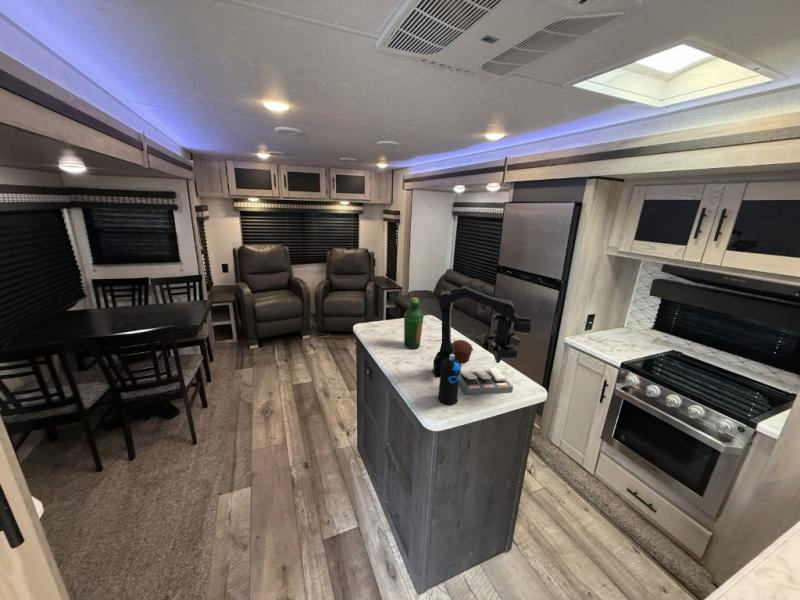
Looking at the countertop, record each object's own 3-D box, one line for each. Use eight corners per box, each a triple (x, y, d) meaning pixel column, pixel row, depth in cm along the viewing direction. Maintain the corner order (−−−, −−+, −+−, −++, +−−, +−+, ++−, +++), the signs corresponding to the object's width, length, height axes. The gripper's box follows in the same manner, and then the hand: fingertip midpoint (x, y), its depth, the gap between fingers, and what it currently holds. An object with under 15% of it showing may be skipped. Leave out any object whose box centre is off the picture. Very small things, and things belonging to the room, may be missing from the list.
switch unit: (466, 395, 130) (467, 389, 129) (454, 377, 143) (455, 372, 142) (512, 391, 134) (513, 386, 133) (497, 375, 147) (497, 370, 146)
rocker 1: (468, 380, 133) (468, 376, 133) (461, 375, 141) (461, 372, 141) (477, 379, 133) (477, 376, 133) (469, 375, 141) (469, 371, 141)
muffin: (444, 358, 161) (446, 340, 158) (456, 352, 168) (458, 335, 165) (463, 367, 153) (466, 348, 150) (475, 360, 160) (478, 342, 158)
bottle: (424, 349, 170) (428, 300, 162) (406, 351, 166) (409, 301, 158) (416, 341, 179) (419, 295, 171) (399, 343, 175) (401, 296, 167)
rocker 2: (482, 380, 134) (482, 376, 134) (474, 374, 142) (474, 370, 142) (491, 379, 135) (491, 376, 135) (482, 373, 142) (483, 370, 142)
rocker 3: (495, 381, 136) (496, 379, 135) (488, 370, 143) (488, 368, 142) (504, 381, 136) (505, 378, 136) (496, 370, 144) (496, 367, 143)
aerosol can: (433, 398, 126) (437, 354, 120) (445, 391, 132) (450, 348, 126) (449, 408, 121) (454, 362, 115) (461, 399, 126) (467, 355, 121)
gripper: (532, 338, 124) (525, 373, 128) (509, 321, 141) (504, 352, 146) (507, 339, 122) (501, 374, 126) (486, 321, 139) (482, 353, 144)
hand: (497, 362), depth 136 cm, fingers closed
